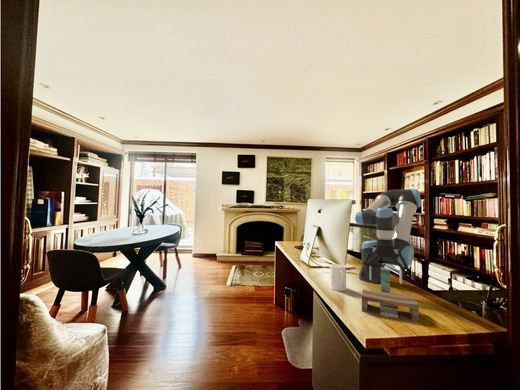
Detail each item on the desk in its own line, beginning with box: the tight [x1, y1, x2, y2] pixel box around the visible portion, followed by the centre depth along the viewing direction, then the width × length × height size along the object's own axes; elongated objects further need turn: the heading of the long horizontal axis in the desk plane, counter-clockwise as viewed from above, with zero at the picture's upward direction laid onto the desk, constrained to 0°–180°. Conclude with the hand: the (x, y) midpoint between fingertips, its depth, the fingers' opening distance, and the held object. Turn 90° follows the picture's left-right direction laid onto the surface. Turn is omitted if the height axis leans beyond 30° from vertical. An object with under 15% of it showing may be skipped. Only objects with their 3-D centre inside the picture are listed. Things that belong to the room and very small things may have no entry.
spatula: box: [379, 267, 396, 309], centre depth 114 cm, size 20×6×12 cm, turn 155°
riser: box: [361, 288, 420, 322], centre depth 100 cm, size 10×20×6 cm, turn 65°
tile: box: [379, 306, 399, 319], centre depth 98 cm, size 6×6×2 cm
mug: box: [329, 263, 347, 292], centre depth 127 cm, size 12×8×12 cm
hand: (385, 281), depth 121 cm, fingers open, 13 cm apart
